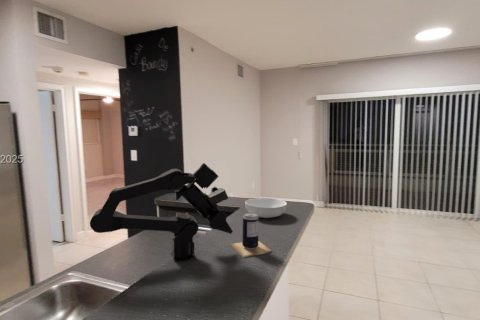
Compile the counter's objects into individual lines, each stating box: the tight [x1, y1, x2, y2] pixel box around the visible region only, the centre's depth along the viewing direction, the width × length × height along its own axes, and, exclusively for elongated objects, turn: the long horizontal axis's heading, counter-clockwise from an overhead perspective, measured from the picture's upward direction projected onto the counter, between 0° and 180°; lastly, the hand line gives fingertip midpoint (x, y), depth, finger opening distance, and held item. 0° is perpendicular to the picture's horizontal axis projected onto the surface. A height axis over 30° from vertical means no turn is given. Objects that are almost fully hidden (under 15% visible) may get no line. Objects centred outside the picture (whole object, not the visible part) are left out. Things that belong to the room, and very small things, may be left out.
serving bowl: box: [244, 197, 288, 219], centre depth 147 cm, size 21×21×7 cm
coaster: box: [230, 240, 273, 258], centre depth 105 cm, size 11×11×1 cm
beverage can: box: [241, 212, 260, 250], centre depth 105 cm, size 6×6×12 cm
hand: (227, 228), depth 102 cm, fingers open, 9 cm apart
